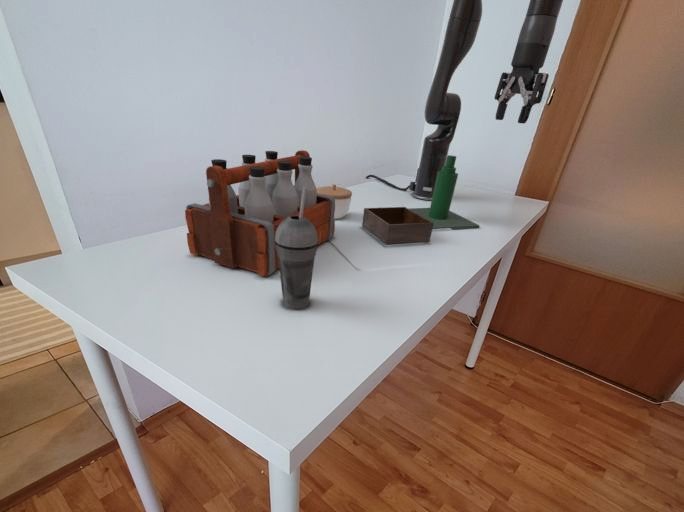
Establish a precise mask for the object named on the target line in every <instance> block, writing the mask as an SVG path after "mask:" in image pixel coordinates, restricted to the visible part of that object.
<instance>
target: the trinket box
mask: <svg viewBox="0 0 684 512" xmlns="http://www.w3.org/2000/svg"><path fill="white" fill-rule="evenodd" d="M316 190H317V194H321V195H326V196H331V197H333V198H334V199H335V212H334V219H335V220H340V219H342V218H344V217H345V216H346V215H347V213H348V212H349V210H350V206H351V201H352V196H353V192H352V190H350V189H348V188H345V187H341V186H337V184H332V185H331V186H320V187H319V186H318V187H316Z"/></svg>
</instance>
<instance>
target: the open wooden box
mask: <svg viewBox="0 0 684 512" xmlns="http://www.w3.org/2000/svg"><path fill="white" fill-rule="evenodd" d="M433 224H434V223H432V222H431V221H429V220H427V219H425V218H424V217H422V216H420V215H418V214H417V213H415V212H413V211H411V210H410V208H409V207H406V206H392V207H389V206H388V207H364V208H363V215H362V223H361V227H362V228H363V229H365V230H366V231H367V232H369V233H370V234H371V235H373V236H374V237H375V238H376V239H377V240H379V241H380V242H381V243H382V244H384V245H385V246H394V245H405V244H407V245H408V244H421V243H430V240H431V237H432V232H433V229H432V228H433Z"/></svg>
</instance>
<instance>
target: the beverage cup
mask: <svg viewBox="0 0 684 512" xmlns="http://www.w3.org/2000/svg"><path fill="white" fill-rule="evenodd" d="M305 195H306V187H303V192H302V200H301V208H300V215H299V216H297V215H294V216H290V217H287V218H286V219H284V220H283V221H282V222H281V223H280V225H279V226H278V228H277V231H276V235H275V240H274V242H275V244H276V250H277V254H278V259H279V268H278V269H279V277H280V285H281V294H282V295H281V296H282V299H283V305H284V306H285V308H288V309H291V310H303V309H305V308H307V307H308V306H309V300H310V296H311V290H312V289H311V288H312V280H313V274H314V273H313V272H314V266H315V265H314V264H315V257H316V254H317V250H318V246H319V245H318V237H317V232H316V230H315V228H314V226H313V224H312V223H311V222H310V221H309V220H308V219H306V218H305V217H303V210H304V203H305Z"/></svg>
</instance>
